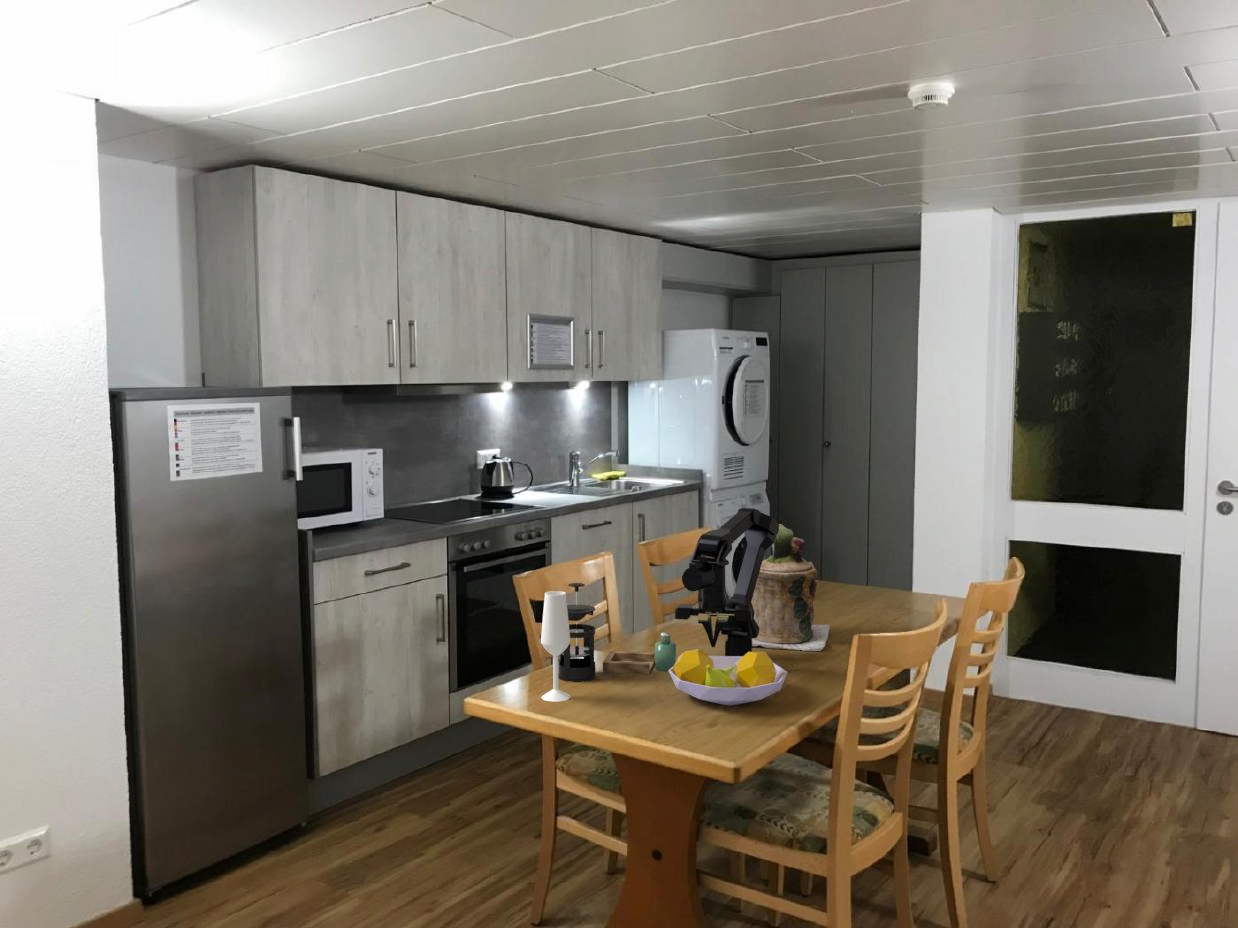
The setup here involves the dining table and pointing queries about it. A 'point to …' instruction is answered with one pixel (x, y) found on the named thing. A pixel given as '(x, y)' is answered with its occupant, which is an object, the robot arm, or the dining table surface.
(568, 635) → the champagne flute
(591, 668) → the french press
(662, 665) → the bottle
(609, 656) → the shallow wooden tray
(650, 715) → the dining table surface
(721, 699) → the fruit bowl
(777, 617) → the cookie jar
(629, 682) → the dining table surface
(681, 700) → the dining table surface
